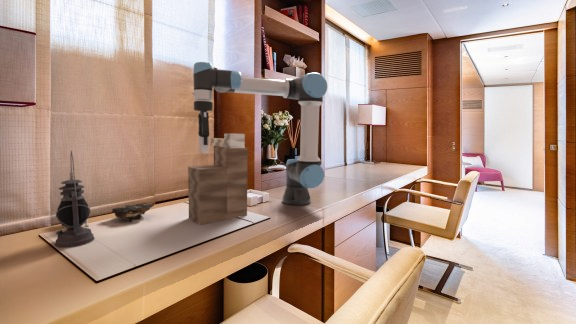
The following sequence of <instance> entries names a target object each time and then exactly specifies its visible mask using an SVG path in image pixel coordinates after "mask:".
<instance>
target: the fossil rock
mask: <svg viewBox="0 0 576 324" xmlns="http://www.w3.org/2000/svg"><path fill="white" fill-rule="evenodd" d="M154 206H155V203H153V202H143V203H136V204H129V205H127V204H126V205H124V206H122V207H115V208H112V209H111V211H112V213H113V214H114V216H115V217H116V218H118V219H122V220H126V221H127V220H128V221H139V220H141V218H142V215H145V214H146V212H148V211H149V210H150V209H151V208H153V207H154Z"/></svg>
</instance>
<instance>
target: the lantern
mask: <svg viewBox="0 0 576 324" xmlns="http://www.w3.org/2000/svg"><path fill="white" fill-rule="evenodd" d="M69 156H70V159H69V160H70V172H69V179H68V180H63V181H61V182H60V184H62V185H63V186H61V187H59V188H58V190H61V191H60V192H59V195H60V196H62V198H60V202H59V205H58V207H57V210H56V212H55V218H56V219H57V221H58V222H59V223H60V224H61V227H65V228H66V229H65V230H62V229H59V230H58V231H56V232H55V234H56V235H57V238H56V239H55V244H54V246H55V247H57V248H61V249H64V248H66V249H67V248H74V247H80V246H83V245H86V244H89V243H91V242H93V241H94V240H95V236H94V233H92V230H91V229H90V228H88V227H83V226H84V225H85V224H86V222H87V223H88V220H89V218H90V214H91V208H90V207H89V204H88V202H87V201H86V200H85V196H83V195H82V194H84V193H85V190H84V188H85V185H82V184H79V183H82V182H83V180H80V179H76V175H75V164H74V155H73V151H72V150H70V155H69ZM89 208H90V209H89ZM86 220H87V221H86Z"/></svg>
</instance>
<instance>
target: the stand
mask: <svg viewBox="0 0 576 324" xmlns="http://www.w3.org/2000/svg"><path fill="white" fill-rule="evenodd" d="M213 147H214V154H213V155H214V164H211V165H195V166H193V165H192V166H188V167H187V173H188V174H187V175H188V176H187V181H188V186H187V187H188V219H190V220H191V221H193V222H195V223H196V224H198V225H206V224H211V223H216V222H221V221H226V220H229V219H230V218H231V219H236V218H239V216H241V217H245V216H244V215H246V216H248V151H249V150H248V147H245V148H224V147H218V146H213ZM235 217H236V218H235ZM231 219H230V220H231Z"/></svg>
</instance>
